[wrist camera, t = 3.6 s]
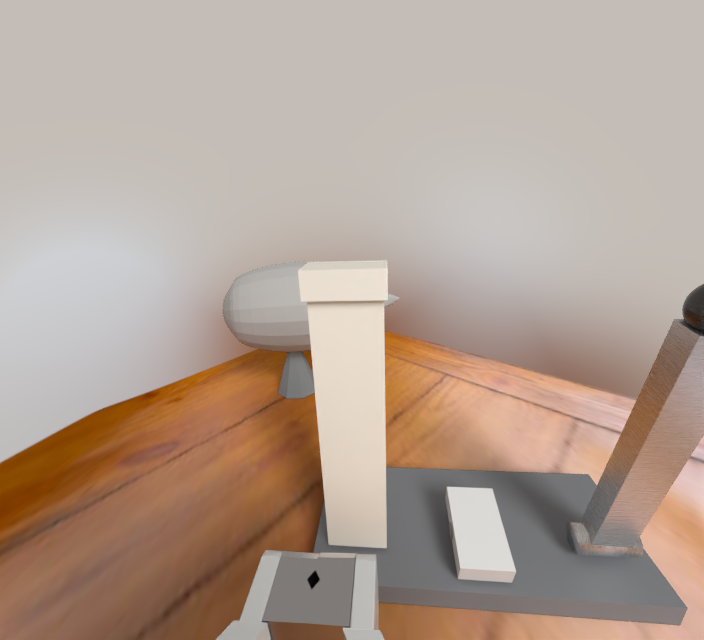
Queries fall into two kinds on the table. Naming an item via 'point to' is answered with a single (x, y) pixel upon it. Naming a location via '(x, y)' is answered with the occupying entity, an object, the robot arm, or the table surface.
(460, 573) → the block
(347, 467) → the beige rectangular bar
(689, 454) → the steel toggle lever
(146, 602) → the table surface
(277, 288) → the jet engine
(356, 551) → the console
